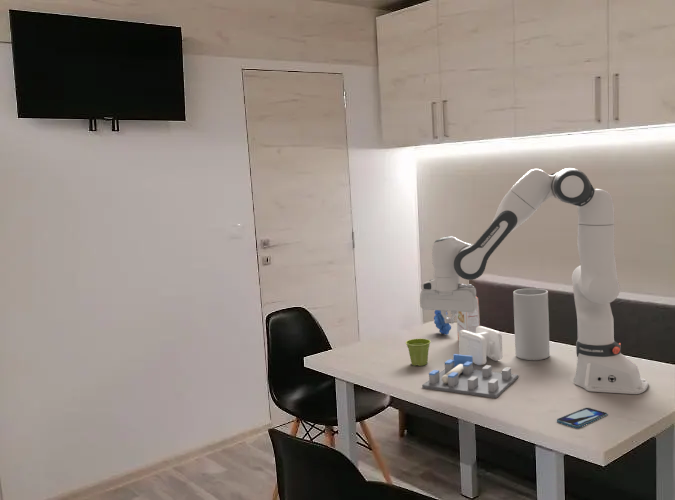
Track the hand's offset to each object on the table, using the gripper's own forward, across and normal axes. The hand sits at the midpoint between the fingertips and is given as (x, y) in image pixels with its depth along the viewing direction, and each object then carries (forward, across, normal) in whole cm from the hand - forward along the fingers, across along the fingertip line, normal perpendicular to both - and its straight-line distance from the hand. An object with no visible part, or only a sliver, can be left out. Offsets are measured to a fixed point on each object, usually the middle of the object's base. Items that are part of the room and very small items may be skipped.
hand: (449, 323), depth 230 cm
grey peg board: (+21, -6, 0) cm, 22 cm away
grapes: (+21, +30, -55) cm, 65 cm away
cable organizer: (+21, 0, -25) cm, 32 cm away
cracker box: (+21, +12, -45) cm, 51 cm away
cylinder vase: (+21, -16, -37) cm, 46 cm away
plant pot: (+20, +20, -13) cm, 31 cm away
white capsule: (+18, 0, 0) cm, 18 cm away
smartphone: (+22, -48, +17) cm, 55 cm away
